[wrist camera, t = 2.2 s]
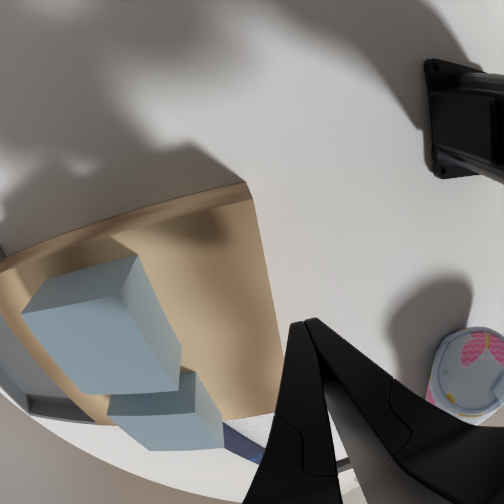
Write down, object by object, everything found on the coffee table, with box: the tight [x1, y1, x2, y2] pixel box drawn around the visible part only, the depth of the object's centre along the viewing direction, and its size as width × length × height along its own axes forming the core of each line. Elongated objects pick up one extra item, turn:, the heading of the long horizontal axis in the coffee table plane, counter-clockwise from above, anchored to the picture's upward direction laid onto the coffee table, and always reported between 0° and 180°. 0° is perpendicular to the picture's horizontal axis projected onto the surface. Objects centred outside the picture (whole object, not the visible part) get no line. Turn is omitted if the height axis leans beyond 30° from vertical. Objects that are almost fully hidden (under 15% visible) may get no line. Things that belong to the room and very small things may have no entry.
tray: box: [0, 248, 99, 425], centre depth 14 cm, size 11×16×2 cm
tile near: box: [20, 255, 182, 395], centre depth 10 cm, size 5×5×2 cm
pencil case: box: [426, 327, 504, 426], centre depth 19 cm, size 21×9×10 cm, turn 27°
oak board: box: [0, 182, 284, 426], centre depth 13 cm, size 15×14×2 cm
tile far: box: [106, 372, 224, 451], centre depth 13 cm, size 5×5×2 cm
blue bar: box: [223, 423, 353, 473], centre depth 27 cm, size 34×2×12 cm
